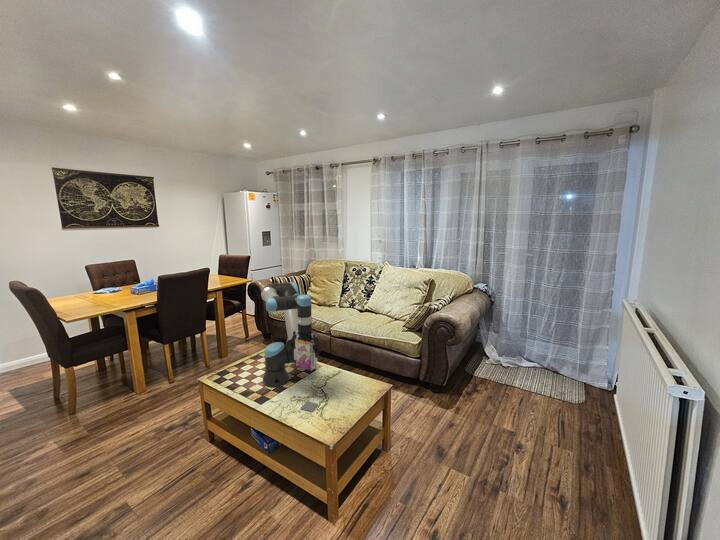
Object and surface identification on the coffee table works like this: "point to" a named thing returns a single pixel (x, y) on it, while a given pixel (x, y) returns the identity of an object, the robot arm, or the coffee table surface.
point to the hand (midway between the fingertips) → (305, 360)
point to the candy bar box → (304, 354)
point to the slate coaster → (309, 406)
